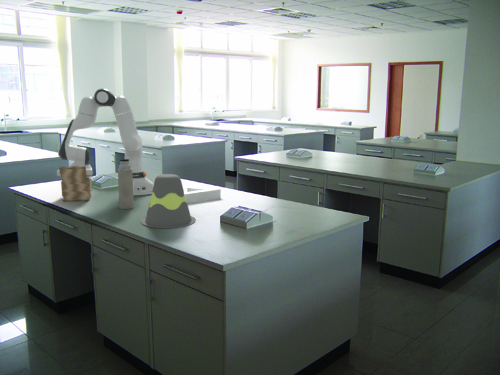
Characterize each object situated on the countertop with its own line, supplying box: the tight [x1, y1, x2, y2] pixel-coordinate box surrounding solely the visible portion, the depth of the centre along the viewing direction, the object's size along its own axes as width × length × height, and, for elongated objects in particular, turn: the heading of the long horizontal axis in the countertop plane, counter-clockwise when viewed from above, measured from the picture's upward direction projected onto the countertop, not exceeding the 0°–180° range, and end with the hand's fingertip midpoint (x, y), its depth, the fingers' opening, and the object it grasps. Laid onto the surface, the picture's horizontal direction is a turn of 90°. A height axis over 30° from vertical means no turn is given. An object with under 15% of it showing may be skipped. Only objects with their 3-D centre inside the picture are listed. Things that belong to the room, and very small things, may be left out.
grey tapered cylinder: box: [140, 173, 197, 229], centre depth 226 cm, size 28×28×24 cm
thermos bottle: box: [117, 158, 135, 210], centre depth 253 cm, size 8×8×28 cm
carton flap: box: [58, 165, 88, 183], centre depth 262 cm, size 14×14×1 cm
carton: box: [60, 176, 93, 202], centre depth 275 cm, size 16×14×12 cm
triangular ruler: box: [182, 185, 222, 204], centre depth 283 cm, size 30×26×6 cm
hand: (73, 174), depth 263 cm, fingers closed, pressing on carton flap
